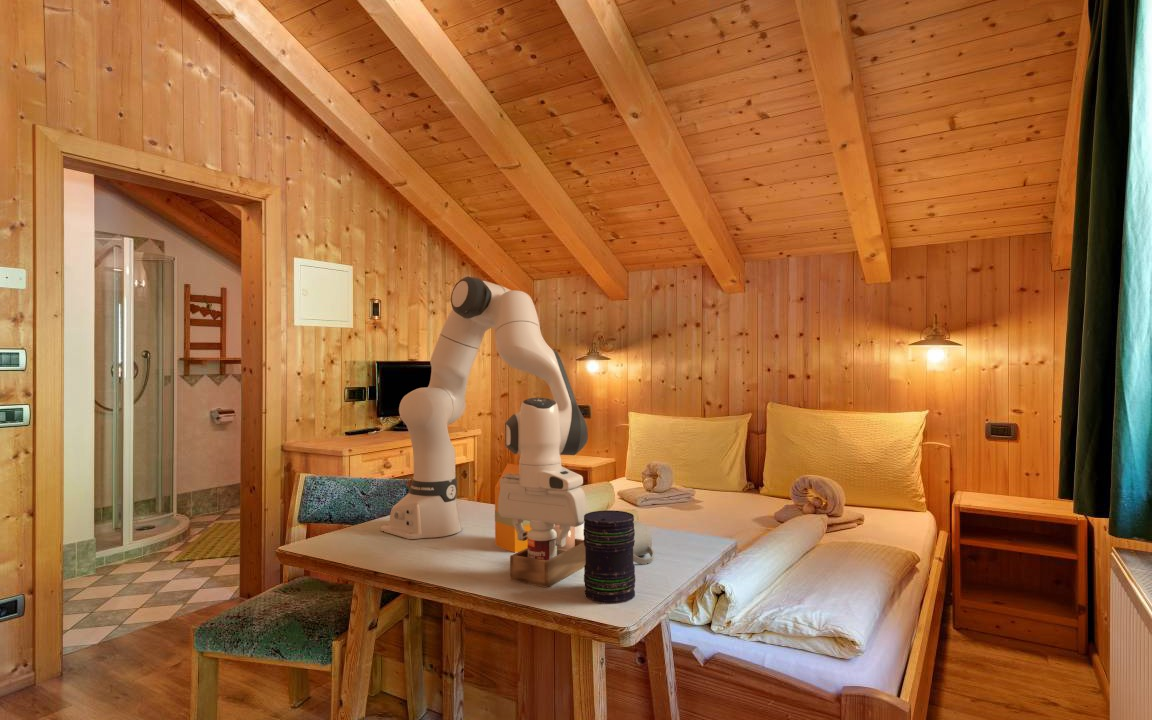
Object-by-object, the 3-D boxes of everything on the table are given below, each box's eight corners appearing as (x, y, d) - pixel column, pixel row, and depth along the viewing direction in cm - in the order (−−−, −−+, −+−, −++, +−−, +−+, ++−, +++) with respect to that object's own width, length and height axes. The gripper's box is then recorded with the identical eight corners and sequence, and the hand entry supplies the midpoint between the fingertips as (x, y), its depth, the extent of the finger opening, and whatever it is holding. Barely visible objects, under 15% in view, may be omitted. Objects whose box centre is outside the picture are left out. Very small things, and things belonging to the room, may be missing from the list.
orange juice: (514, 553, 147) (513, 468, 147) (494, 545, 154) (493, 464, 154) (541, 546, 152) (540, 464, 152) (520, 539, 159) (520, 461, 159)
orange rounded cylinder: (544, 564, 136) (544, 527, 136) (558, 557, 140) (557, 521, 141) (566, 567, 133) (566, 530, 133) (579, 560, 138) (579, 524, 138)
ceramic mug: (604, 557, 143) (604, 523, 143) (630, 550, 148) (630, 518, 148) (636, 569, 135) (636, 533, 135) (662, 561, 140) (662, 527, 140)
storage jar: (595, 583, 125) (594, 508, 126) (641, 589, 122) (640, 512, 122) (576, 599, 116) (575, 519, 116) (626, 607, 112) (625, 524, 113)
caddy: (510, 580, 128) (510, 555, 128) (555, 557, 143) (555, 535, 143) (548, 587, 123) (547, 562, 123) (590, 563, 138) (590, 540, 138)
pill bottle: (522, 575, 128) (521, 520, 128) (536, 566, 134) (535, 514, 134) (549, 579, 126) (548, 523, 126) (562, 570, 131) (561, 516, 131)
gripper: (491, 474, 132) (492, 540, 132) (574, 482, 122) (575, 553, 122) (509, 470, 138) (509, 533, 137) (590, 477, 127) (590, 545, 127)
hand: (541, 542), depth 129 cm, fingers open, 8 cm apart
